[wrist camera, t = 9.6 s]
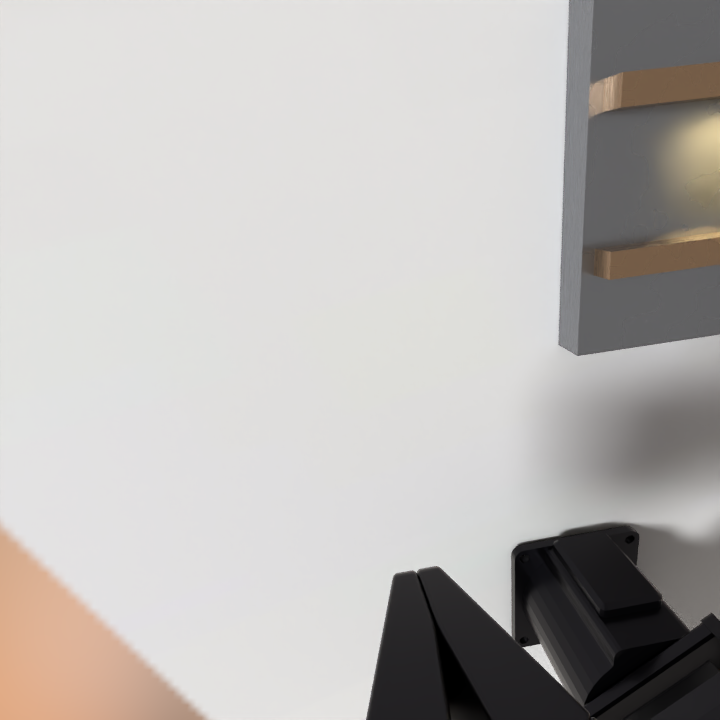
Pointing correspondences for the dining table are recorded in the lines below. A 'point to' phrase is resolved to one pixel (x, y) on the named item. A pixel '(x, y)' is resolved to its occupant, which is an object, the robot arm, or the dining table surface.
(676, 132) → the bolt plate
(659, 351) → the dining table surface
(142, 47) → the dining table surface
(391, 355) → the dining table surface
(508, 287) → the dining table surface
